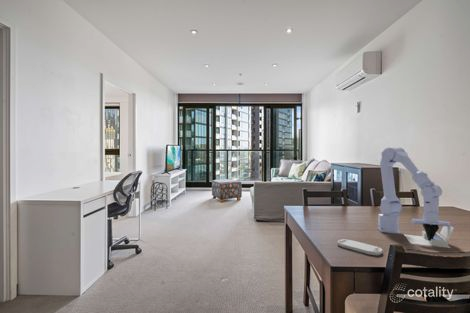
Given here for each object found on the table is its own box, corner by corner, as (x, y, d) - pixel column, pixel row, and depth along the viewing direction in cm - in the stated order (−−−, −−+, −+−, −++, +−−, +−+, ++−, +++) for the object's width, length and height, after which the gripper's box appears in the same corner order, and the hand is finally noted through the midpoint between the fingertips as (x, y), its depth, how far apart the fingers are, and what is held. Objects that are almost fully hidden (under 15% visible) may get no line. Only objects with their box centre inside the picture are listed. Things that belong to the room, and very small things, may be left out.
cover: (452, 227, 118) (454, 228, 118) (445, 222, 127) (446, 223, 127) (447, 239, 119) (449, 239, 119) (439, 233, 128) (441, 234, 127)
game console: (385, 247, 113) (378, 252, 108) (385, 253, 113) (377, 258, 108) (343, 237, 126) (334, 241, 121) (343, 242, 126) (334, 246, 121)
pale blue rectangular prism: (435, 244, 122) (435, 240, 122) (429, 239, 129) (429, 236, 128) (441, 245, 121) (441, 241, 121) (435, 240, 128) (435, 236, 128)
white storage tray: (410, 244, 123) (411, 237, 123) (403, 235, 136) (403, 229, 136) (450, 248, 118) (451, 241, 118) (439, 238, 131) (439, 232, 131)
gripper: (414, 211, 124) (414, 241, 124) (453, 214, 119) (452, 245, 119) (410, 208, 130) (410, 236, 131) (447, 211, 125) (446, 240, 126)
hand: (430, 240), depth 125 cm, fingers closed
